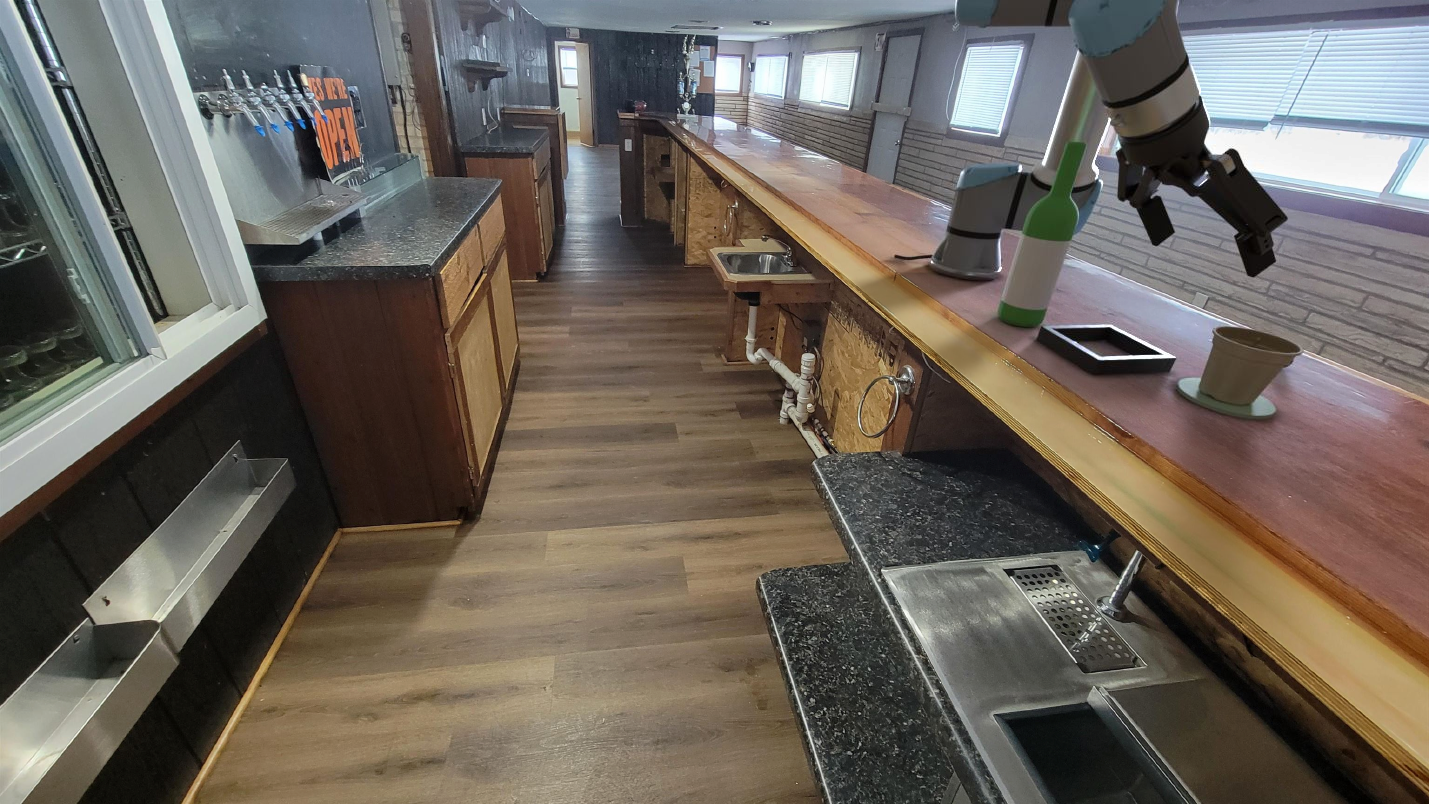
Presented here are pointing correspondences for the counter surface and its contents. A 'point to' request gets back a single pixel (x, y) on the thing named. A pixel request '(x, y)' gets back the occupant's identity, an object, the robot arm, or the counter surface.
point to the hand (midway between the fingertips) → (1208, 252)
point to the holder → (1140, 361)
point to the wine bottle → (1043, 247)
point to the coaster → (1250, 411)
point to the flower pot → (1244, 363)
